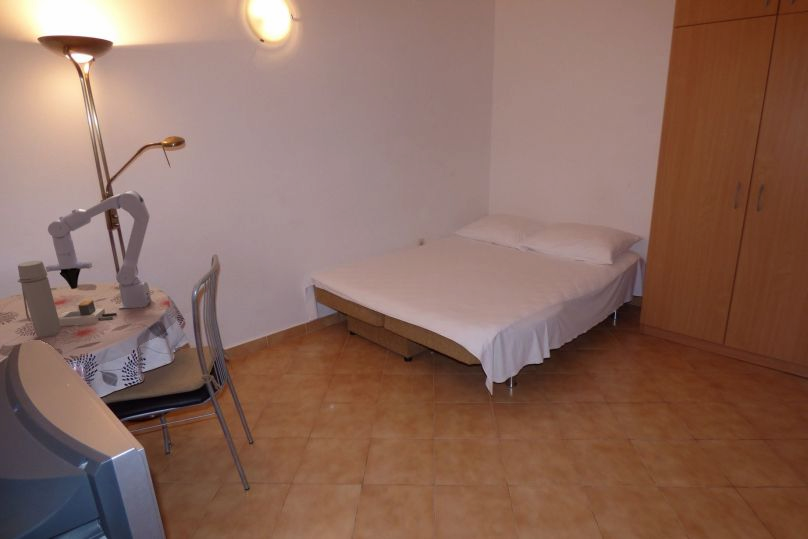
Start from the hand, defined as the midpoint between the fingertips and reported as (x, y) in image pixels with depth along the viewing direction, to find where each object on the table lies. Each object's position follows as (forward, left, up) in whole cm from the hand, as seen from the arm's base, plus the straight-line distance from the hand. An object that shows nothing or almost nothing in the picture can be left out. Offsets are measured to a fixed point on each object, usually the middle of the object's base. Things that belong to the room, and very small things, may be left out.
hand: (74, 288), depth 180 cm
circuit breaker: (-4, +9, -10) cm, 14 cm away
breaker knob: (-7, +8, -7) cm, 13 cm away
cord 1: (-13, +10, -10) cm, 19 cm away
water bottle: (+2, +19, -10) cm, 22 cm away
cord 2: (-13, +7, -10) cm, 17 cm away
